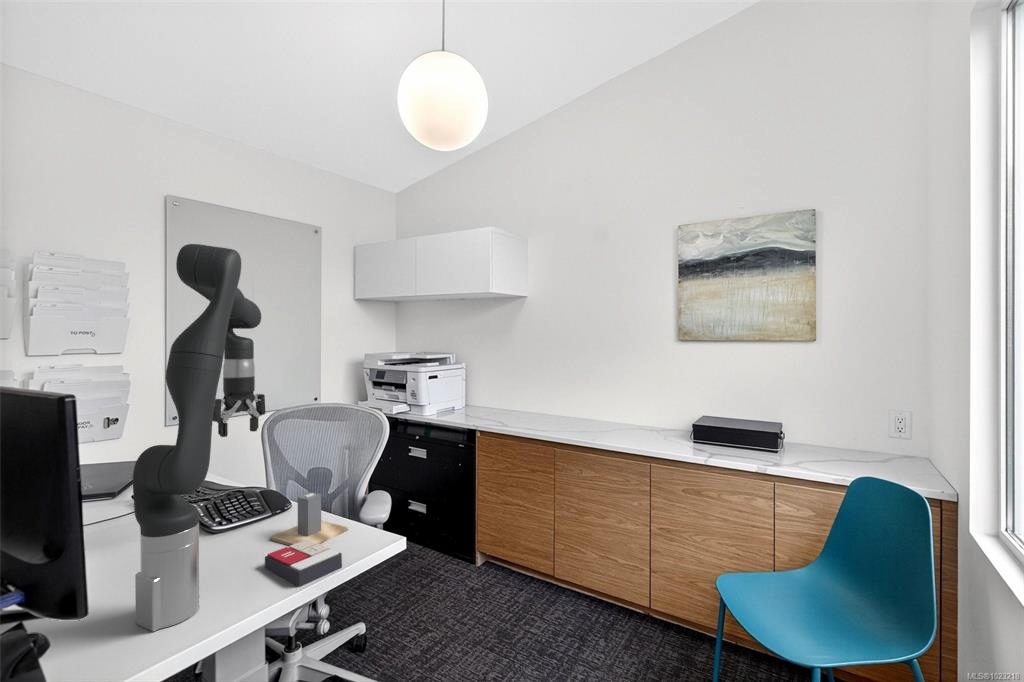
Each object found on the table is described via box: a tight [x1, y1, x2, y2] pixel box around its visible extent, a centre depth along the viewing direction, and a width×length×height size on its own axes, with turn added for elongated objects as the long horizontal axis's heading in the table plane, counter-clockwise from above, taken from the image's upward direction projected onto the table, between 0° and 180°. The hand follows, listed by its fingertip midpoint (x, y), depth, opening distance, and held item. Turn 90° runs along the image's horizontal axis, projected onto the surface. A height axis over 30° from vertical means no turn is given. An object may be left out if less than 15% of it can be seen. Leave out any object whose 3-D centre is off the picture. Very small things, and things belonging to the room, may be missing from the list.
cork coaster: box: [269, 520, 349, 547], centre depth 127 cm, size 14×14×1 cm
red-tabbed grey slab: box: [264, 540, 343, 588], centre depth 109 cm, size 11×4×15 cm
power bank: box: [297, 492, 322, 536], centre depth 127 cm, size 4×4×10 cm
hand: (239, 433), depth 128 cm, fingers open, 8 cm apart
